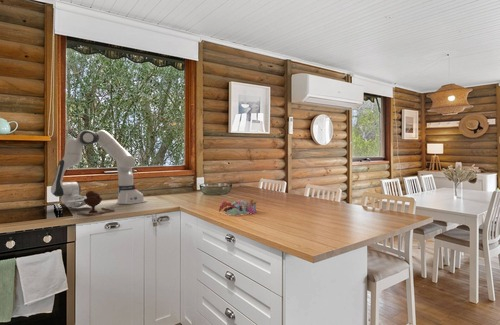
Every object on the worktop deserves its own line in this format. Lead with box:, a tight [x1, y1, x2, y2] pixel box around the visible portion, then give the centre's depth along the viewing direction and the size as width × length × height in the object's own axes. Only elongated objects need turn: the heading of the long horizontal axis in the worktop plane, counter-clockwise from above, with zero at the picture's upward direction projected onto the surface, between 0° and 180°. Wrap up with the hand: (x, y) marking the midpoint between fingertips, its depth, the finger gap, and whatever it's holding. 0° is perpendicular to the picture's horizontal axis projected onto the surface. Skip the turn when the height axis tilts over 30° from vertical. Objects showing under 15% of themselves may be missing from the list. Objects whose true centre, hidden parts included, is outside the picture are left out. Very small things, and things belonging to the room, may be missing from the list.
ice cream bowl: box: [84, 190, 103, 214], centre depth 207 cm, size 11×11×15 cm
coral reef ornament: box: [218, 198, 258, 215], centre depth 208 cm, size 25×24×9 cm
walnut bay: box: [76, 207, 115, 217], centre depth 207 cm, size 18×14×1 cm
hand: (87, 203), depth 212 cm, fingers open, 8 cm apart
